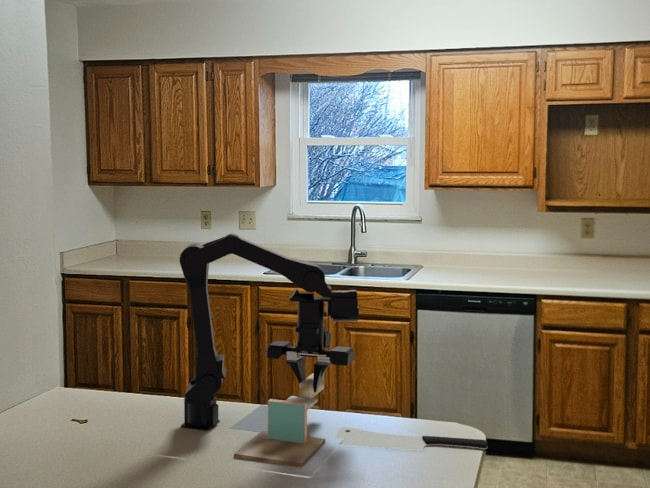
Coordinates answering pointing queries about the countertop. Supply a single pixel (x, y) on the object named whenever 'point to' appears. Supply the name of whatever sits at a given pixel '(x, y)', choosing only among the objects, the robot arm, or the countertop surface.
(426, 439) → the kitchen cleaver
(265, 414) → the mat
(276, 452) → the board
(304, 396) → the turner
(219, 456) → the countertop surface
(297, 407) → the tile
